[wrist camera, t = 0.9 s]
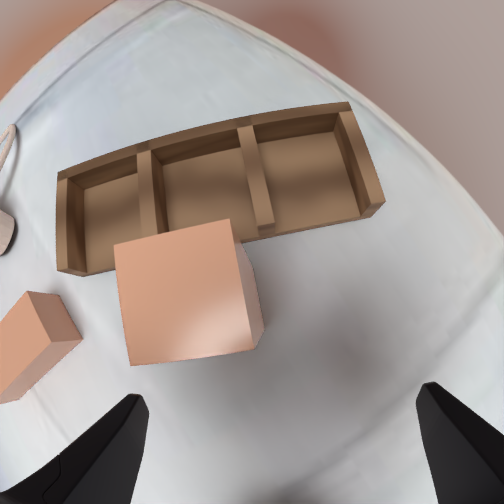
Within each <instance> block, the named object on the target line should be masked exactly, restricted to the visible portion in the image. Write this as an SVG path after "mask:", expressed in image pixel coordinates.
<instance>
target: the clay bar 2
mask: <svg viewBox="0 0 504 504" xmlns="http://www.w3.org/2000/svg"><path fill="white" fill-rule="evenodd" d="M114 257H115V267H116V277H117V285H118V293H119V301H120V308H121V315H122V321H123V328H124V334H125V339H126V345H127V350H128V356H129V361H130V366H137V365H147V364H157V363H166V362H174V361H182V360H190V359H197V358H204V357H211V356H218V355H224V354H230V353H236V352H242V351H248V350H253V349H255V347H256V345H257V344H258V342H259V340H260V338H261V336H262V334H263V333H264V331H265V327H264V322H263V317H262V312H261V307H260V302H259V297H258V292H257V287H256V282H255V276H254V271H253V267H252V265H251V263H250V260H249V258H248V256H247V254H246V252H245V250H244V248H243V246H242V244H241V242H240V240H239V237H238V235H237V233H236V231H235V229H234V227H233V225H232V223H231V221H230V219H225V220H220V221H215V222H211V223H206V224H202V225H197V226H193V227H188V228H184V229H179V230H175V231H170V232H166V233H162V234H158V235H153V236H149V237H145V238H141V239H137V240H132V241H128V242H124V243H120V244H116V245H114Z"/></svg>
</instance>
